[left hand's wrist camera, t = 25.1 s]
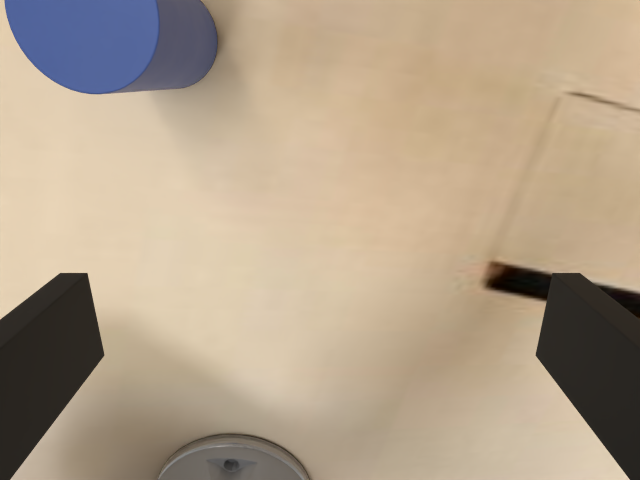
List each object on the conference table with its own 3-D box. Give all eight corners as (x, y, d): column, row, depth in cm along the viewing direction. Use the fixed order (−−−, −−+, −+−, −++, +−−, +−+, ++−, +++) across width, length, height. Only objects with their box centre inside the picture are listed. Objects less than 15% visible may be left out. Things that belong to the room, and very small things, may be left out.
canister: (154, 104, 31) (65, 118, 20) (102, 12, 29) (-30, -30, 18) (234, 63, 30) (187, 54, 19) (186, -35, 28) (102, -109, 17)
